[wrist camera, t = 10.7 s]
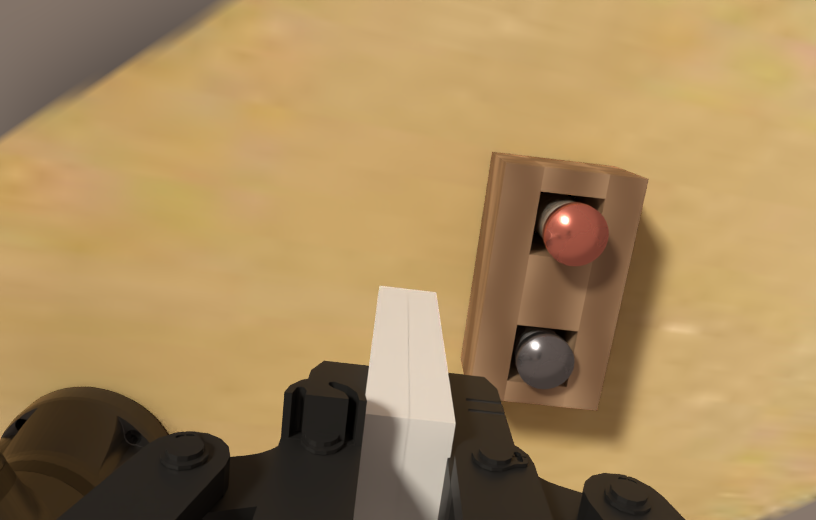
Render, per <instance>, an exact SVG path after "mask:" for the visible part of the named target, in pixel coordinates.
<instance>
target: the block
mask: <svg viewBox="0 0 816 520" xmlns="http://www.w3.org/2000/svg"><path fill="white" fill-rule="evenodd" d="M648 180H649V179H647V178H644V177H641V176H639V175H636V174H634V173H631V172H628V171H626V170H623V169H621V168H618V167H615V166H606V165H598V164H589V163H581V162H573V161H564V160H556V159H547V158H539V157H530V156H522V155H513V154H505V153H496V152H492V157H491V164H490V170H489V177H488V183H487V190H486V196H485V203H484V210H483V216H482V223H481V229H480V236H479V242H478V249H477V256H476V262H475V269H474V275H473V282H472V288H471V295H470V302H469V308H468V315H467V321H466V328H465V334H464V341H463V348H462V354H461V362H462V367H463V372H464V375H472V376H481V377H485V378H486V379H487V380H488V381H489V382H490V383H491V384H493V385H494V386H495V387H496V388H497V390H498V393H499V396H500V399H501V401H509V402H518V403H528V404H538V405H547V406H557V407H567V408H576V409H586V410H596V411H597V409H598V405H599V400H600V396H601V391H602V387H603V382H604V378H605V373H606V369H607V364H608V360H609V355H610V351H611V346H612V342H613V337H614V333H615V328H616V324H617V319H618V315H619V310H620V306H621V301H622V297H623V292H624V288H625V283H626V279H627V274H628V270H629V265H630V261H631V256H632V252H633V247H634V243H635V238H636V234H637V229H638V225H639V220H640V216H641V211H642V207H643V202H644V198H645V193H646V189H647V184H648ZM541 191H542V192H550V193H559V194H568V195H576V199H575V201H576V202H580V203H584V204H587V205H589V206H591V207H593V208H594V209H596V210H597V211H599V212H600V213H601V214H602V216H603V217H604V218H605V220H606V222H607V225H608V229H609V237H608V242H607V245H606V247H605V249H604V251H603V252H602V253H601V255H600V256H599V257H598V258H596V259H595V260H594V261H592V262H590V263H588V264H586V265H582V266H568V265H564V264H562V263H560V262H558V261H557V260H556V259H554V258H553V256H552V255H551V254H550V253H549V252H548V251H547V249H546V247H545V245H544V242H543V239H542V238H541V236H540V235H533V231H534V226H535V220H536V214H537V209H538V203H539V197H540V192H541ZM517 325H524V326H534V327H543V328H552V329H554V330H555V332H556V333H557V334H558V335H559V336H561V337H562V338H563V339H564V340H565V341H566V342H567V343H568V345H569V347H570V348H571V350H572V352H573V355H574V368H573V371H572V373H571V375H570V376H569V378H568V379H567V380H566V381H565V382H564V383H562V384H561V385H559V386H557V387H554V388H551V389H537V388H534V387H531V386H530V385H528V384H527V383H525V382H524V381H523V380H522V378H521V377H520V375H519V373H518V370H517V368H516V365H515V352H514V350H513V345H514V339H515V334H516V328H517Z"/></svg>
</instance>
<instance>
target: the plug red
mask: <svg viewBox="0 0 816 520" xmlns="http://www.w3.org/2000/svg"><path fill="white" fill-rule="evenodd" d="M534 230H535V231H536V232H537V233H538V234H539V235H540V236H541V238H542V239H543V242H544V245H545V247H546V249H547V251H548V252H549V253H550V254H551V255H552V256H553V258H554V259H556V260H557V261H558V262H560V263H562V264H564V265H568V266H582V265H586V264H588V263H590V262H592V261H594V260H595V259H596V258H598V257H599V256H600V255H601V253H602V252H603V251H604V249H605V247H606V245H607V242H608V237H609V229H608V225H607V222H606V220H605V218H604V217H603V216H602V214H601V213H600V212H599V211H597V210H596V209H594V208H593V207H591V206H589V205H587V204H584V203H580V202H576V201H574V200H573V199H571V198H570V197H568V196H567V195H565V194H559V193H550V192H544V193H542V194H540V197H539V203H538V209H537V214H536V220H535V226H534Z"/></svg>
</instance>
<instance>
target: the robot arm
mask: <svg viewBox="0 0 816 520" xmlns="http://www.w3.org/2000/svg"><path fill="white" fill-rule="evenodd" d="M0 520H685V519H684V518H683V517H682V516H681V515H680V514H679V513H678V512H677V511H676V510H675V508H674V507H673V506H672V505H671V504H670V503H669V502H668V501H667V500H666V499H665V498H664V497H663V496H662V495H660V494H659V493H658V492H657V491H655V490H654V489H653V488H652V487H650V486H648V485H646V484H644V483H642V482H640V481H639V480H637V479H635V478H632V477H629V476H628V477H627V476H626V475H621V474H609V473H602V474H598V475H593V476H591V477H590V478H589V479H588V480H586V481H585V484H584V488H583V492H582V493H581V492H577V491H574V490H571V489H568V488H564V487H561V486H558V485H555V484H553V483H550V482H548V481H545V480H544V479H542V478H540V477H538V474H537V471H536V468H535V465H534V463H533V462H532V460H531V458H530V457H529V455H528V454H526V453H525V452H524V451H522V450H521V449H520V448H519V447H517V446H515V445H514V442H513V439H512V436H511V432H510V429H509V426H508V423H507V419H506V416H505V415H504V409H503V406H502V405H501V399H500V396H499V393H498V390H497V388H496V387H495V386H494V385H493V384H491V383H490V382H489V381H488V380H487V379H486V378H485V377H481V376H472V375H463V374H454V373H448V369H447V362H446V355H445V349H444V342H443V335H442V328H441V322H440V315H439V308H438V301H437V295H436V292H429V291H421V290H412V289H403V288H395V287H386V286H379V294H378V301H377V309H376V317H375V325H374V332H373V340H372V348H371V356H370V363H369V366H366V365H357V364H348V363H339V362H330V361H323V362H322V363H320V364H319V365H318V366H316V367H315V368H314V369H312V370H311V372H310V375H309V378H308V379H304V380H300V381H298V382H296V383H294V384H292V385H290V386H289V387H288V389H287V390H286V391H285V392H284V405H283V418H282V431H281V439H280V442H279V445H278V446H277V447H275V448H273V449H271V450H268V451H265V452H262V453H259V454H253V455H246V456H236V457H230V452H229V446H228V445H227V444H226V443H225V442H224V441H223V440H222V439H220V438H218V437H215V436H213V435H211V434H208V433H200V432H193V431H186V432H178V433H173V434H170V435H167V433H166V431H165V430H164V428H163V427H162V426H161V424H160V423H159V422H158V421H157V420H156V418H155V417H154V416H153V415H152V414H151V413H149V412H148V411H147V410H146V409H145V408H143V407H142V406H141V405H139V404H138V403H136V402H134V401H133V400H131V399H129V398H127V397H125V396H123V395H120V394H118V393H115V392H112V391H109V390H105V389H100V388H93V387H72V388H65V389H60V390H57V391H54V392H51V393H49V394H47V395H44V396H43V397H41V398H39V399H38V400H36V401H35V402H33V403H32V404H31V405H30V406H28V407H27V408H26V409H25V410H24V411H23V412H21V413H20V414H19V415H18V416H17V417H16V418H15V419H14V420H13V421H12V422H11V423H10V425H9V426H8V427H7V429H6V430H5V432H4V433H3V435H2V437H1V439H0Z"/></svg>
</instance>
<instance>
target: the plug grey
mask: <svg viewBox="0 0 816 520" xmlns="http://www.w3.org/2000/svg"><path fill="white" fill-rule="evenodd" d="M513 350H514V352H515V365H516V368H517V370H518V373H519V375H520V377H521V378H522V380H523V381H524V382H525V383H527V384H528V385H530V386H531V387H534V388H537V389H551V388H554V387H557V386H559V385H561V384H562V383H564V382H565V381H566V380H567V379H568V378H569V376H570V375H571V373H572V371H573V368H574V355H573V352H572V350H571V348H570V347H569V345H568V343H567V342H566V341H565V340H564V339H563V338H562V337H561V336H559V335H558V334H557V333H556V332H555V330H554V329H552V328H543V327H534V326H524V325H517V328H516V334H515V339H514V345H513Z"/></svg>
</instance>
